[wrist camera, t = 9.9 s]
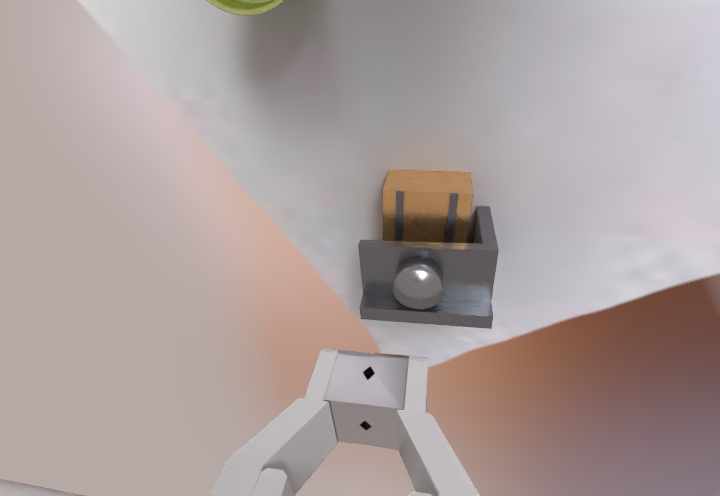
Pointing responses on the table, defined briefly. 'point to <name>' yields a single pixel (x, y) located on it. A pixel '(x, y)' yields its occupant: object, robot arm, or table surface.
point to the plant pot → (246, 6)
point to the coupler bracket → (431, 279)
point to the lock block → (427, 206)
